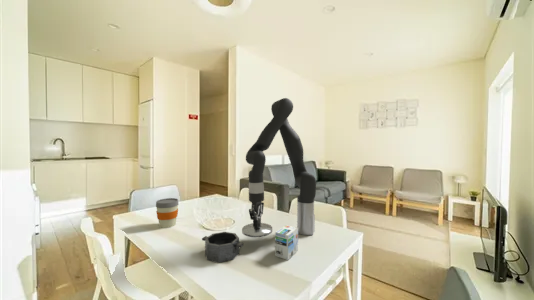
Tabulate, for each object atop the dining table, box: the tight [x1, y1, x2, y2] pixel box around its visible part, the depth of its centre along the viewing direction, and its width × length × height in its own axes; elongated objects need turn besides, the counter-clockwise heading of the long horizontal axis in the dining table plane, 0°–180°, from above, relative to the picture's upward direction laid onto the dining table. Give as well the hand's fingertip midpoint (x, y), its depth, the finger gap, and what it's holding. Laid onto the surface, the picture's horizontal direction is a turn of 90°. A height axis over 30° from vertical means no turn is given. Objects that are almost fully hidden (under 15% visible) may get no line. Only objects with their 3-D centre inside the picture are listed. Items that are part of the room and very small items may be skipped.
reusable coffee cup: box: [155, 197, 179, 229], centre depth 135 cm, size 13×13×15 cm
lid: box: [241, 215, 273, 238], centre depth 110 cm, size 15×15×8 cm
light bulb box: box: [274, 225, 299, 261], centre depth 101 cm, size 11×7×11 cm, turn 148°
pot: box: [201, 231, 244, 264], centre depth 100 cm, size 20×14×7 cm
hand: (257, 225), depth 110 cm, fingers closed on lid, 3 cm apart
